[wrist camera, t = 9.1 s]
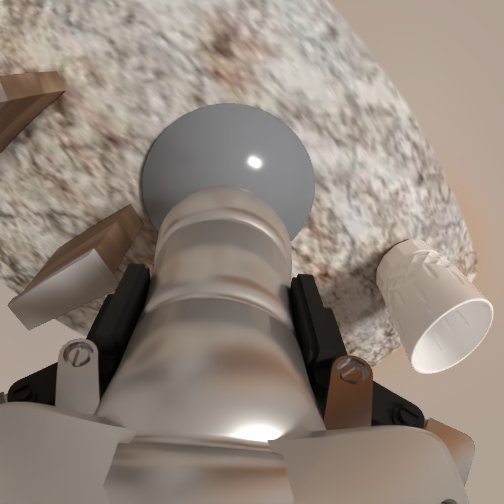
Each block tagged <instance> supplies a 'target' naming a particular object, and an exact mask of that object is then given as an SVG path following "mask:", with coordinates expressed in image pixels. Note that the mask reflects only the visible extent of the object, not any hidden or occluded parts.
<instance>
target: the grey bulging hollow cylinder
mask: <svg viewBox="0 0 504 504" xmlns="http://www.w3.org/2000/svg"><path fill="white" fill-rule="evenodd" d="M291 272H292V253H291V242H290V237H289V233H288V231H287V229H286V227H285V225H284V223H283V221H282V220H281V219H280V217H279V216H278V215H277V214H276V212H275V211H274V210H273V209H272V207H271V206H270V205H269V204H268V203H267V202H266V201H265V200H263V199H262V198H261V197H260V196H258V195H256V194H254V193H253V192H251V191H249V190H246V189H243V188H240V187H236V186H228V185H217V186H209V187H206V188H202V189H199V190H197V191H195V192H193V193H191V194H189V195H188V196H187V197H185V198H184V199H183V200H182V201H180V202H179V203H178V204H177V205H176V206H174V207H173V208H172V209H171V211H170V212H169V213H168V214H167V216H166V217H165V218H164V221H163V223H162V225H161V227H160V230H159V234H158V239H157V244H156V249H155V254H154V269H153V273H152V276H151V280H150V284H149V288H148V292H147V296H146V301H145V305H144V308H143V311H142V313H141V315H140V317H139V320H138V322H137V324H136V327H135V329H134V331H133V333H132V336H131V338H130V340H129V343H128V345H127V348H126V350H125V353H124V355H123V357H122V360H121V362H120V365H119V367H118V369H117V370H116V372H115V374H114V376H113V378H112V380H111V382H110V384H109V385H108V387H107V389H106V391H105V393H104V395H103V397H102V399H101V401H100V403H99V405H98V407H97V408H96V410H95V412H94V414H93V415H96V416H101V417H106V418H108V419H110V420H112V421H114V422H116V423H118V424H120V425H122V426H124V427H125V428H128V429H133V430H137V431H138V432H137V433H136V435H135V436H134V438H133V439H132V440H131V442H130V443H118V444H117V447H116V450H115V453H114V456H113V460H112V463H111V466H110V469H109V471H108V474H107V476H106V479H105V481H104V484H103V487H104V489H105V492H106V494H107V496H108V499H109V501H110V503H111V504H292V503H293V502H294V497H293V494H292V490H291V487H290V483H289V480H288V475H287V470H286V466H285V461H284V456H283V455H277V454H273V453H272V451H271V448H270V446H269V444H268V441H267V440H272V439H279V438H283V437H287V436H291V435H295V434H298V433H301V432H307V431H322V430H326V427H325V425H324V422H323V417H322V414H321V411H320V409H319V406H318V404H317V401H316V398H315V396H314V393H313V391H312V388H311V385H310V383H309V379H308V375H307V371H306V368H305V364H304V360H303V356H302V352H301V349H300V345H299V341H298V338H297V334H296V330H295V326H294V322H293V310H292V302H291V293H290V279H291Z"/></svg>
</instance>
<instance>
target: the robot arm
mask: <svg viewBox="0 0 504 504" xmlns="http://www.w3.org/2000/svg"><path fill="white" fill-rule="evenodd" d="M149 284H150V271H149V268H145V266H144V264H134V263H130V264H129V265H128V267H127V269H126V271H125V273H124V275H123V277H122V279H121V281H120V283H119V285H118V287H117V289H116V291H115V293H114V294H109V295H107V297H106V299H105V301H104V303H103V305H102V307H101V309H100V311H99V313H98V315H97V317H96V319H95V321H94V323H93V325H92V327H91V329H90V331H89V333H88V336H87V338H86V339H74V340H72V341H69V342H67V343H66V344H65V345H64V346H63V347H62V349H61V350H60V353H59V357H58V362H57V363H54V364H52V365H50V366H48V367H46V368H44V369H42V370H40V371H37V372H35V373H33V374H31V375H29V376H27V377H25V378H22V379H20V380H18V381H17V382H15V383H14V384H13V385H12V386H11V387H10V389H9V391H8V394H4V392H2V393H0V504H111V503H110V501H109V499H108V496H107V494H106V492H105V489H104V487H103V484H104V481H105V479H106V476H107V474H108V471H109V469H110V466H111V463H112V460H113V456H114V453H115V450H116V447H117V444H118V443H130V442H131V440H132V439H133V438H134V436H135V435H136V433H137V432H138V431H137V430H133V429H128V428H125V427H124V426H122V425H120V424H118V423H116V422H114V421H112V420H110V419H108V418H106V417H101V416H96V415H93V414H94V412H95V410H96V408H97V407H98V405H99V403H100V401H101V399H102V397H103V395H104V393H105V391H106V389H107V387H108V385H109V384H110V382H111V380H112V378H113V376H114V374H115V372H116V370H117V369H118V367H119V365H120V362H121V360H122V357H123V355H124V353H125V350H126V348H127V345H128V343H129V340H130V338H131V336H132V333H133V331H134V329H135V327H136V324H137V322H138V320H139V317H140V315H141V313H142V311H143V308H144V305H145V301H146V296H147V292H148V288H149ZM290 293H291V302H292V310H293V322H294V326H295V330H296V334H297V338H298V341H299V345H300V349H301V352H302V356H303V360H304V364H305V368H306V371H307V375H308V379H309V383H310V385H311V388H312V391H313V393H314V396H315V398H316V401H317V404H318V406H319V409H320V411H321V414H322V417H323V422H324V425H325V427H326V430H322V431H307V432H301V433H298V434H295V435H291V436H287V437H283V438H279V439H272V440H267V441H268V444H269V446H270V448H271V451H272V453H273V454H277V455H283V456H284V461H285V466H286V470H287V475H288V480H289V483H290V487H291V490H292V494H293V497H294V502H293V503H292V504H469V501H468V497H467V494H466V490H465V484H466V481H467V477H468V474H469V471H470V467H471V463H472V460H473V456H474V451H475V445H474V442H473V440H472V439H471V437H470V436H468V435H467V434H465V433H463V432H460V431H458V430H456V429H454V428H451V427H449V426H447V425H445V424H443V423H441V422H439V421H436V420H434V419H432V418H429V419H428V420H427V419H425V418H424V415H423V413H422V411H421V410H420V409H419V408H418V407H417V406H416V405H414V404H412V403H411V402H409V401H407V400H406V399H404V398H402V397H400V396H398V395H397V394H395V393H393V392H391V391H390V390H388V389H386V388H385V387H383V386H381V385H380V384H378V383H376V382H375V381H373V372H372V369H371V367H370V365H369V364H368V363H367V362H366V361H365V360H363V359H361V358H360V357H357V356H352V355H347V352H346V349H345V346H344V343H343V340H342V337H341V334H340V331H339V328H338V325H337V322H336V320H335V317H334V314H333V311H332V309H331V308H324V307H323V304H322V301H321V298H320V295H319V292H318V289H317V286H316V283H315V280H314V277H313V275H310V274H298V275H297V278H296V277H293V278H292V281H291V286H290Z"/></svg>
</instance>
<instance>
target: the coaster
mask: <svg viewBox="0 0 504 504" xmlns="http://www.w3.org/2000/svg"><path fill="white" fill-rule="evenodd" d="M217 185H228V186H236V187H240V188H243V189H246V190H249V191H251V192H253V193H254V194H256V195H258V196H260V197H261V198H262V199H263V200H265V201H266V202H267V203H268V204H269V205H270V206H271V207H272V209H273V210H274V211H275V212H276V214H277V215H278V216H279V217H280V219H281V220H282V221H283V223H284V225H285V227H286V229H287V231H288V233H289V237H290V242H291V241H292V240H293V239H294V238H295V237H296V236H297V234H298V233H299V232H300V230H301V229H302V227H303V226H304V224H305V222H306V220H307V218H308V216H309V213H310V211H311V208H312V204H313V200H314V192H315V177H314V171H313V166H312V163H311V160H310V157H309V155H308V153H307V151H306V149H305V147H304V145H303V144H302V142H301V141H300V139H299V138H298V136H297V135H296V134H295V133H294V132H293V131H292V130H291V129H290V128H289V127H288V126H287V125H286V124H284V123H283V122H282V121H281V120H280V119H278V118H276V117H275V116H273V115H271V114H270V113H268V112H265V111H263V110H261V109H259V108H255V107H252V106H248V105H242V104H235V103H223V104H215V105H209V106H206V107H202V108H199V109H196V110H194V111H192V112H189V113H187V114H186V115H184V116H182V117H181V118H179V119H177V120H176V121H175V122H173V123H172V124H171V125H170V126H169V127H167V128H166V129H165V131H164V132H163V133H162V134H161V135H160V136H159V137H158V139H157V140H156V142H155V143H154V145H153V146H152V148H151V150H150V152H149V154H148V157H147V160H146V163H145V166H144V171H143V177H142V192H143V200H144V204H145V208H146V211H147V213H148V216H149V218H150V220H151V222H152V224H153V226H154V227H155V229H156V230H157V231H158V233H159V230H160V227H161V225H162V223H163V221H164V218H165V217H166V216H167V214H168V213H169V212H170V211H171V209H172V208H173V207H174V206H176V205H177V204H178V203H179V202H180V201H182V200H183V199H184V198H185V197H187V196H188V195H189V194H191V193H193V192H195V191H197V190H199V189H202V188H206V187H209V186H217Z"/></svg>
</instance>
